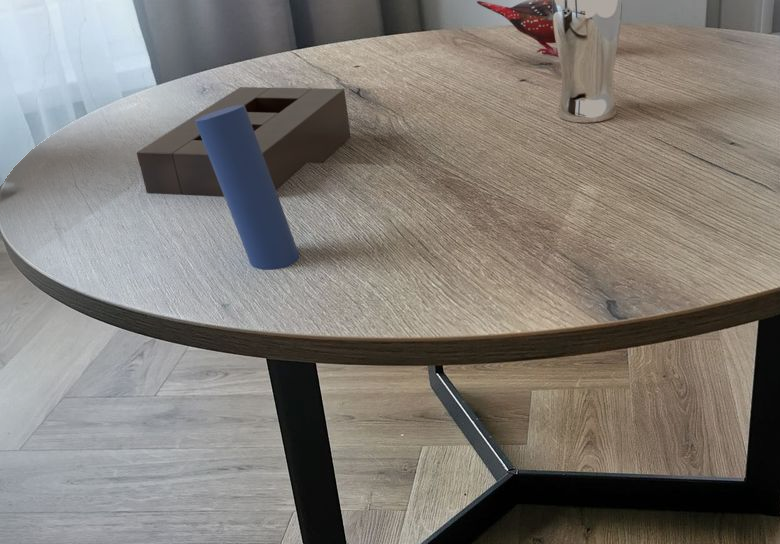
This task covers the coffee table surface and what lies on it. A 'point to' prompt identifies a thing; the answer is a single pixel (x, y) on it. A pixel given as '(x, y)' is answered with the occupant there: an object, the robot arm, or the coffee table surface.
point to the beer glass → (587, 57)
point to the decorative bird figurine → (530, 20)
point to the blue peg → (248, 187)
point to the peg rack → (272, 129)
